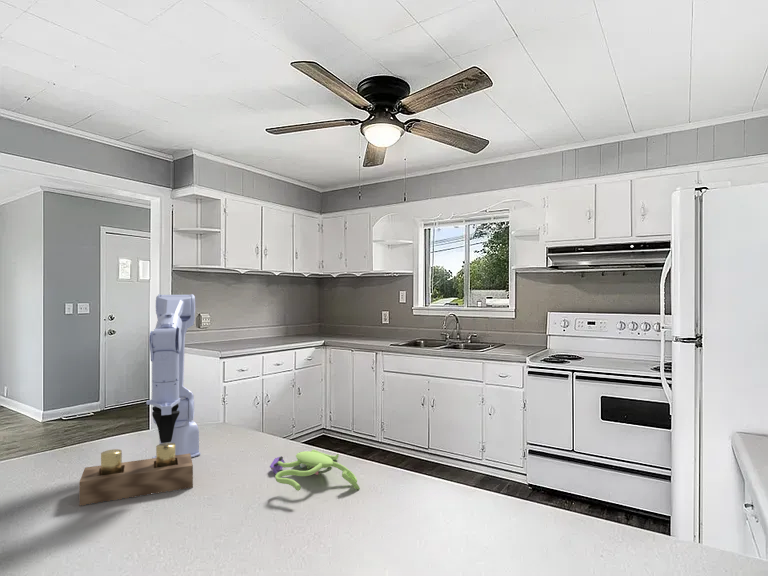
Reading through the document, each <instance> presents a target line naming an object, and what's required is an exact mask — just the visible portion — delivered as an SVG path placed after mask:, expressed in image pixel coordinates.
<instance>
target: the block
mask: <svg viewBox="0 0 768 576" xmlns="http://www.w3.org/2000/svg"><path fill="white" fill-rule="evenodd" d="M193 487H194V465H193V460H192V457H191V454H190V453H189V454H182V455H175V465H172V466H165V467H158V468H156V458H152V457H151V458H146V459H139V460H131V461H124V462H123V461H122V473H116V474H109V475H102V476H101V464H100V465H95V466H87V467H84V468H83V472H82V475H81V476H80V480H79V488H78V489H79V492H78V493H79V495H78V496H79V498H78V499H79V501H78V503H79V505H78V506H79V507H81V505H82V506H87V505H86V504H89V505H92V504H91V503H95V504H99V503H98V502H101V503H104V502H103V501H107V502H111V501H110V500H113V501H118V500H117V499H119V500H123V499H122V498H125V499H130V498H129V497H132V498H136V497H135V496H138V497H141V496H140V495H144V496H148V495H147V494H150V495H152V494H151V493H156V494H161V493H160V492H162V493H167V492H166V491H168V492H174V491H173V490H175V491H179V489H181V490H186V489H191V488H192V489H193ZM158 492H159V493H158Z"/></svg>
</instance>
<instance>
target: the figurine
mask: <svg viewBox="0 0 768 576" xmlns="http://www.w3.org/2000/svg"><path fill="white" fill-rule="evenodd" d="M339 457H340V455H339V453H337V454H336V455H330V454H327V453H325V452H321V451H318V450H316V449H311V451H310V450H306V451H304V450H303V451H300V452H298V453H296V455H295V458H296V460H295V461H291V462H285V460H284V459H283V458H284V457H283V456H278V457H275V458H274V459H273V461H272V462H271V464H270V465H269V468H270V469H271V471H272V473H274V474H275V475H274V476H275V481H276V482H277V483H279V484H282V485H283V484H284V485H289V486H291V487H293V488H294V490H295V491H297V492H299V491H301V489H302V486H301V485H300V483H298V482H297V481H296V480H294V479H291V478H287V477H286V476H298V477H308V476H309V477H310V476H312V475H314V474H315V475H320V474H319V473H320V472H319V471H320V470H322V469H327V468H331V467H333V468H335V469H338V470H340V471H341V472H342V473H341V477H342V478H343V479H344V480H345V481H347V482H348V483H350V485H351V486H352V487H353V488H354V490H361V488H360V486H359V484H358V478H357V477H356V475H355V474H354V473H353V472H352V471H351V470H350V469H349V468H347V467H346V466H345V465H343V464H341V463H339V462H337V460H338V459H339ZM298 466H299V468H305V467H306V468H307V470H298V469H284V470H282V469H283V468H296V467H298Z"/></svg>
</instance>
